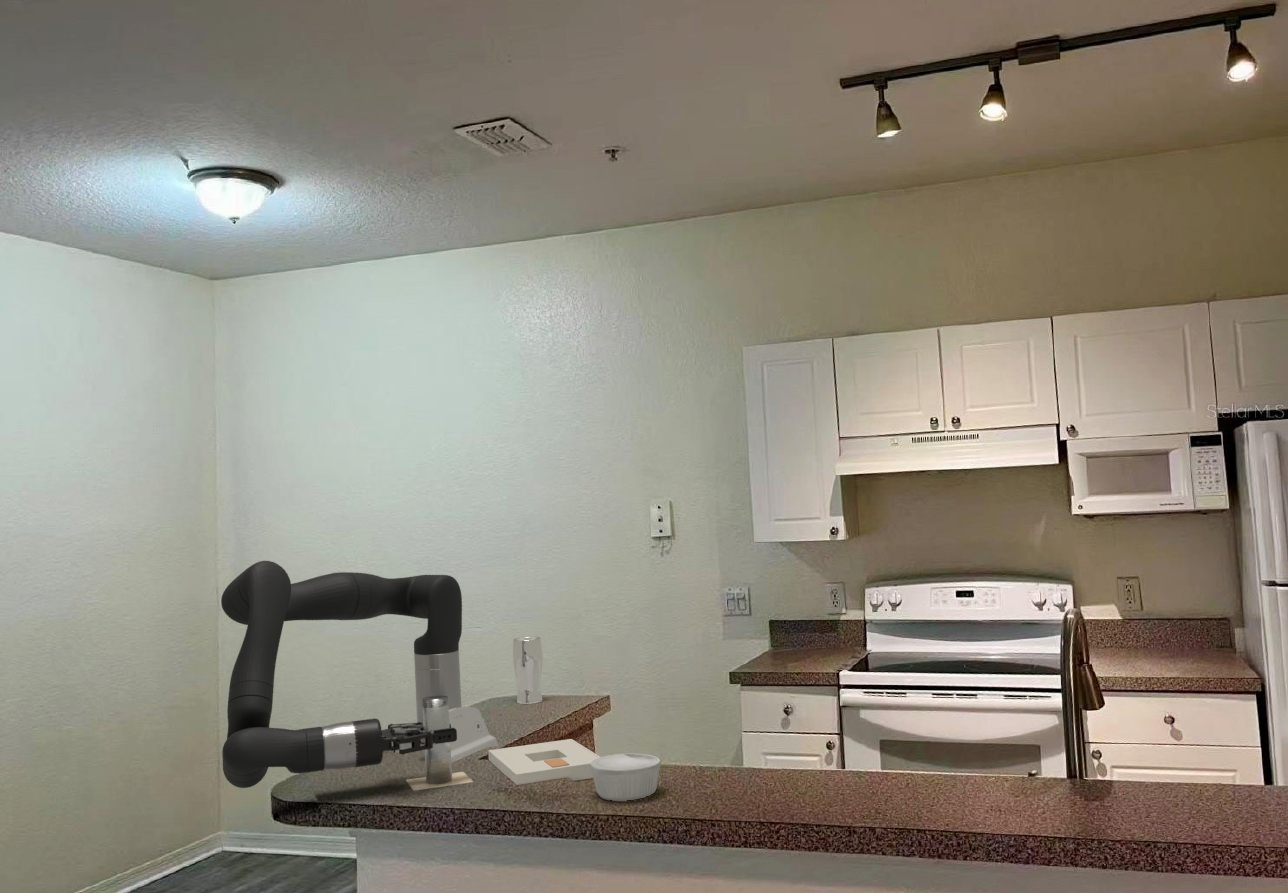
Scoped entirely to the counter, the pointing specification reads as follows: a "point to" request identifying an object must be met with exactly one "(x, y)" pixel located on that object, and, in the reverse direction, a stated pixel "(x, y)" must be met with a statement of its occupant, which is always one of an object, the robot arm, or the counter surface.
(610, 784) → the ramekin
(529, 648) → the beer glass
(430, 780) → the grey capped tube
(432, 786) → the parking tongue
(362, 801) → the counter surface
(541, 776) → the hole plate
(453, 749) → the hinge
